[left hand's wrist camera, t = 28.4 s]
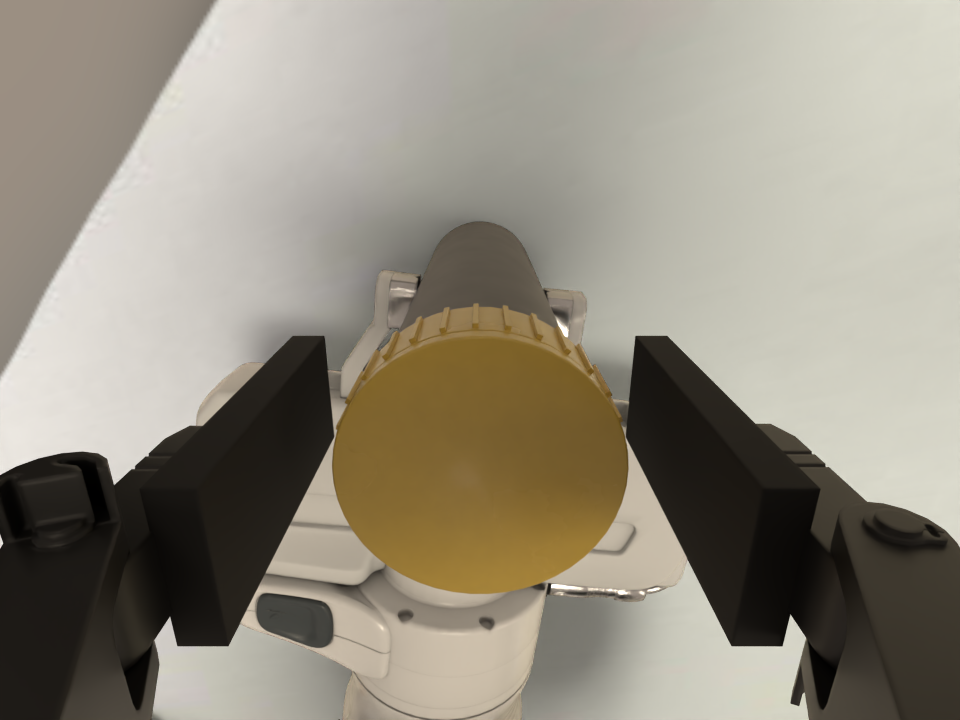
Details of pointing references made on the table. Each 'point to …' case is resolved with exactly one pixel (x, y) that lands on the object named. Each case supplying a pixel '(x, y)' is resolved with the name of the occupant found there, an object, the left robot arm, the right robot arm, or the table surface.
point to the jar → (479, 275)
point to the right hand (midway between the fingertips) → (481, 283)
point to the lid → (480, 452)
